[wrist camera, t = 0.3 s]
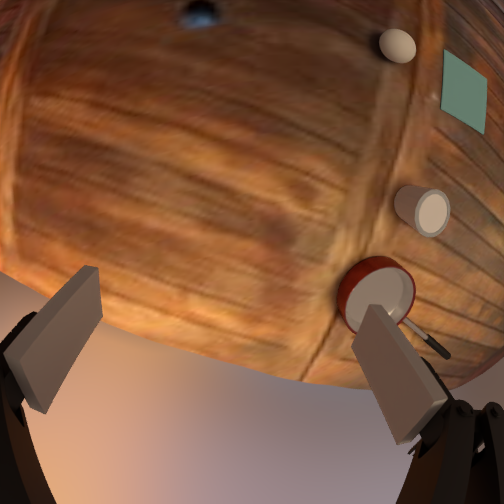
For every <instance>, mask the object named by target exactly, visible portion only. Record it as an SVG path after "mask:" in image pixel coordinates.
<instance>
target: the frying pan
mask: <svg viewBox="0 0 504 504" xmlns="http://www.w3.org/2000/svg"><path fill="white" fill-rule="evenodd" d="M415 294H416V287H415V282H414V279H413V278H412V276H411V274H410V273H409V272H408V271H406V270H405V269H404V268H403V267H402V266H401V265H400V264H398V263H397V262H396V261H394V260H393V259H391V258H388V257H372V258H368V259H366V260H363V261H362V262H360V263H358V264H357V265H355V266H354V267H353V268H352V269H351V270H350V271H349V272H348V273H347V274H346V276H345V277H344V279H343V280H342V282H341V284H340V287H339V289H338V294H337V306H338V310H339V312H340V314H341V316H342V318H343V319H344V321H345V323H346V325H347V327H348V328H349V329H350V330H351V332H352V333H354V334H357V332H358V330H359V327H360V325H361V323H362V320H363V318H364V315H365V313H366V311H367V308H368V306H369V304H377V305H382V306H383V307H384V309H385V310H386V311H387V313H388V314H389V315H390V317H391V318H392V319H393V320H394V322H395V323H396V324H397V326H398V325H399V324H400V323H401V322H404V323H405V324H406V325H407V326H409V327H410V328H411V329H412V330H413V331H415V332H416V333H417V334H418V335H419V336H421V337H422V338H423V340H424V341H425V342H426V343H427V344H428V345H429V346H430V347H432V348H433V349H434V350H435V351H436V352H438V353H439V354H440V355H441V356H442V357H443V358H445V359H446V360H448V359H450V357H451V354H450V353H449V352H448V351H447V350H446V349H445V348H444V347H443V346H441V345H440V344H439V343H438V342H437V341H436V340H435V339H434V338H432V337H431V336H430V335H429V334H426V333H425V332H424V331H423V330H421V329H420V328H419V327H418V326H417V325H416V324H414V323H413V322H412V321H411V320H410V319H409V318H407V317H406V316H407V315H408V313H409V312H410V310H411V308H412V306H413V303H414V300H415Z"/></svg>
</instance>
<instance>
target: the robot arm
mask: <svg viewBox="0 0 504 504" xmlns="http://www.w3.org/2000/svg"><path fill="white" fill-rule="evenodd" d="M102 317H103V314H102V305H101V295H100V284H99V271H98V268H97V267H92V266H87V265H84V266H83V267H82V268H81V269H80V270H79V271H78V272H77V273H76V274H75V275H74V276H73V277H72V278H71V279H70V280H69V281H68V282H67V283H66V284H65V285H64V286H63V287H62V288H61V289H60V290H59V291H58V292H57V293H56V294H55V295H54V296H53V297H52V298H51V299H50V300H49V301H48V303H47V304H46V305H45V306H44V307H43V308H42V309H41V310H40V311H39V312H38V313H37V312H34V311H33V312H31V313H30V314H28V315H26V316H25V317H23V318H22V319H21V321H20V322H19V323H18V324H17V326H15V327H14V328H13V329H12V332H10V333H9V334H8V335H7V336H6V337H5V338H4V340H3V341H2V342H1V343H0V504H56V501H55V499H54V497H53V495H52V493H51V490H50V488H49V486H48V484H47V481H46V479H45V476H44V474H43V472H42V469H41V466H40V463H39V460H38V457H37V455H36V452H35V449H34V446H33V442H32V439H31V436H30V432H29V428H28V425H27V421H26V417H25V413H24V409H23V407H22V405H21V403H22V401H23V400H24V398H25V399H26V401H27V403H28V405H29V406H30V408H32V409H34V410H37V411H39V412H41V413H43V414H46V413H47V411H48V409H49V407H50V405H51V403H52V401H53V399H54V397H55V396H56V394H57V392H58V390H59V388H60V386H61V385H62V383H63V381H64V379H65V377H66V376H67V374H68V372H69V370H70V369H71V367H72V365H73V363H74V362H75V360H76V358H77V357H78V355H79V353H80V352H81V350H82V348H83V347H84V345H85V343H86V342H87V340H88V339H89V337H90V335H91V334H92V332H93V331H94V329H95V327H96V326H97V324H98V323H99V321H100V320H101V318H102ZM351 347H352V349H353V351H354V353H355V356H356V358H357V360H358V362H359V364H360V366H361V368H362V370H363V372H364V374H365V376H366V378H367V380H368V382H369V384H370V387H371V389H372V391H373V393H374V395H375V397H376V399H377V402H378V404H379V406H380V408H381V410H382V412H383V415H384V417H385V419H386V421H387V424H388V426H389V428H390V430H391V433H392V435H393V437H394V439H395V442H396V444H397V445H400V444H404V443H408V442H411V441H412V440H413V439H414V438H415V437H416V436H417V435H418V434H420V436H421V439H420V440H419V442H417V444H416V445H414V446H413V448H411V449H410V451H409V452H408V454H411V453H412V452H413V451H414V450H415V453H414V455H413V459H412V462H411V465H410V468H409V471H408V474H407V476H406V479H405V482H404V484H403V487H402V490H401V492H400V494H399V497H398V499H397V502H396V504H504V410H503V409H502V407H501V406H500V405H499V404H498V403H495V402H489V403H487V404H486V406H485V407H484V408H483V409H482V410H473V408H472V406H471V405H470V404H469V403H467V402H466V401H464V400H455V399H454V398H453V396H452V395H451V393H450V392H449V390H448V389H447V387H446V386H445V385H444V383H443V382H442V380H441V379H439V376H438V374H437V373H435V370H434V369H433V367H432V366H431V364H430V363H429V362H427V361H426V360H425V359H424V358H423V357H420V356H419V354H418V353H417V352H416V350H415V349H414V347H413V346H412V345H411V343H410V342H409V341H408V339H407V338H406V337H405V335H404V334H403V332H402V331H401V330H400V328H399V327H398V326H397V324H396V323H395V322H394V320H393V319H392V318H391V317H390V315H389V314H388V313H387V311H386V310H385V309H384V307H383V306H382V305H377V304H369V306H368V308H367V311H366V313H365V315H364V318H363V320H362V323H361V325H360V327H359V330H358V332H357V334H356V337H355V339H354V341H353V343H352V346H351ZM483 443H484V445H485V448H484V449H483V450H482V451H481V452H479V453H478V448H479V446H481V445H482V444H483Z"/></svg>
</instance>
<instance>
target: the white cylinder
mask: <svg viewBox="0 0 504 504" xmlns="http://www.w3.org/2000/svg"><path fill="white" fill-rule="evenodd" d="M394 208H395V211H396V213H397V215H398V216H399V217H400V218H401V219H402V220H404V221H405V222H406V223H408V224H409V225H410V226H411V227H413V228H414V229H415V230H416V231H418V232H419V233H420V234H421V235H424V236H426V237H435V236H436V235H438V234H440V233H441V232H442V231H443V229H444V228H445V227H446V225H447V223H448V220H449V217H450V204H449V200H448V198H447V197H446V195H445V193H443V192H441V191H440V190H437V189H432V188H426V187H420V186H413V185H406V186H404V187H402V188H401V189H400V190H399V191H398V192H397V194H396V196H395V199H394Z"/></svg>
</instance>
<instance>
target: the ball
mask: <svg viewBox="0 0 504 504" xmlns="http://www.w3.org/2000/svg"><path fill="white" fill-rule="evenodd" d="M379 46H380V49H381V51H382V53H383V54H384V55H385V56H386V57H387V58H388V59H389V60H391V61H393V62H397V63H406V62H408V61H410V60H411V59H413V57H414V56H415V53H416V46H415V43H414V41H413V39H412V38H411V36H410V35H409V34H407V33H406V32H404V31H402V30H399V29H389V30H387V31H385V32H384V33H383V34H382V35H381V37H380V39H379Z"/></svg>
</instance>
